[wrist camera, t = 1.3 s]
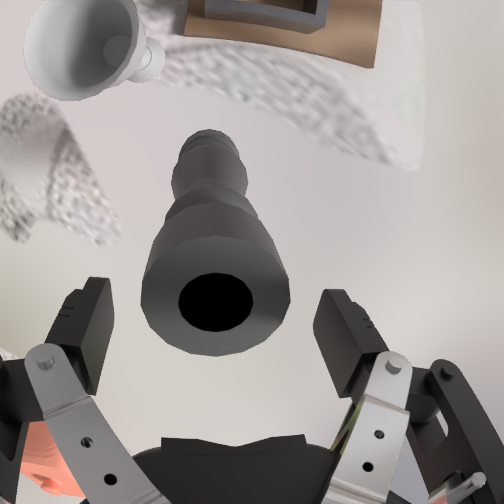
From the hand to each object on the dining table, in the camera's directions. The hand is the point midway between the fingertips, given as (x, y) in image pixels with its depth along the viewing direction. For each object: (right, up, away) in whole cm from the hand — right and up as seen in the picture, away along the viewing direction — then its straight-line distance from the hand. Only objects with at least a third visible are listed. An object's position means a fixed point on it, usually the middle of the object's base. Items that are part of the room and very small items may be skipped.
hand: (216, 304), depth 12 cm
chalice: (-10, +22, +16) cm, 29 cm away
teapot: (-39, -38, +44) cm, 70 cm away
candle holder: (-3, +12, +22) cm, 25 cm away
